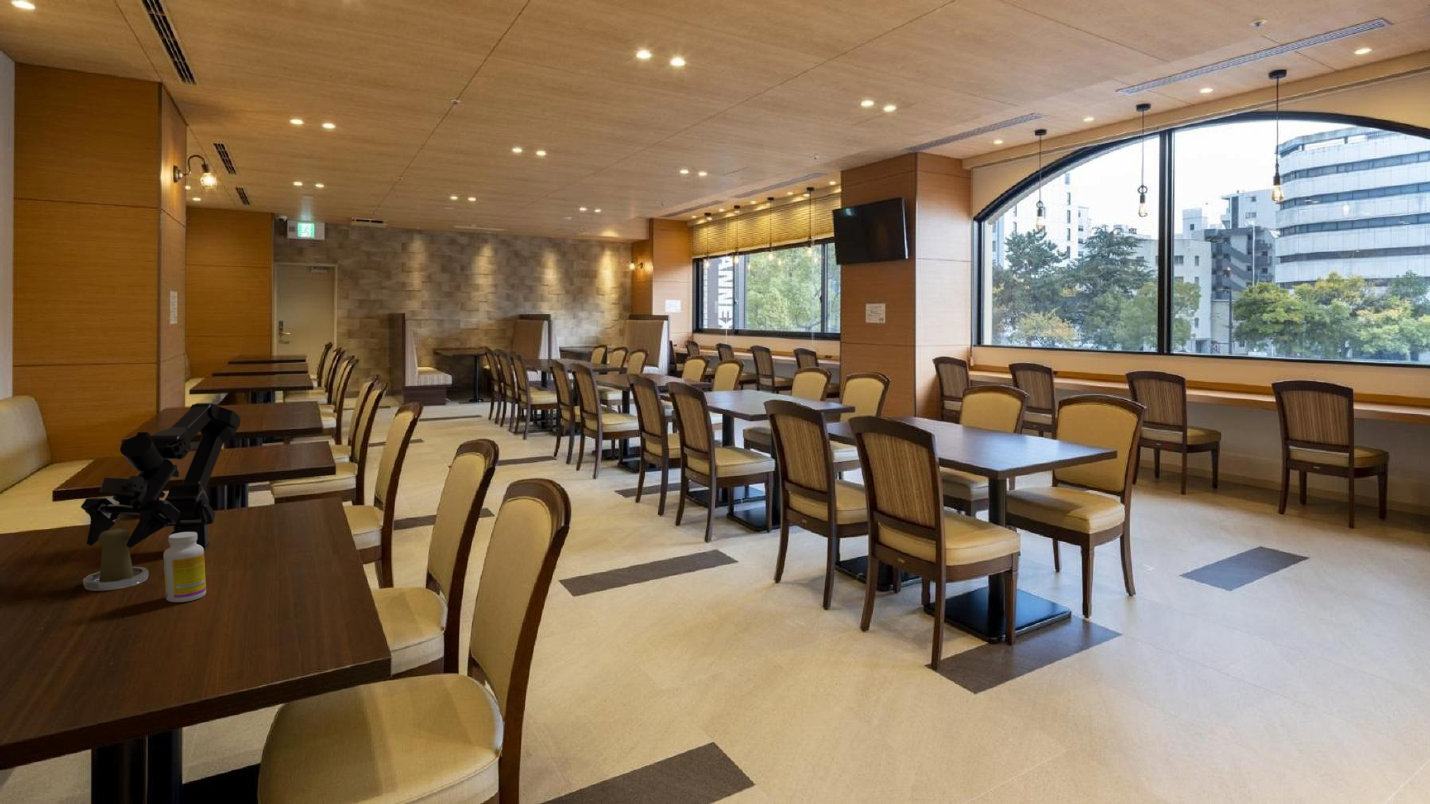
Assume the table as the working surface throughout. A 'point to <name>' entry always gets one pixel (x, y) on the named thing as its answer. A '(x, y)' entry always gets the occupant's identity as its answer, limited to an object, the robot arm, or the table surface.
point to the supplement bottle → (184, 568)
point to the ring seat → (94, 585)
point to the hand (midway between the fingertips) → (108, 545)
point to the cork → (115, 555)
